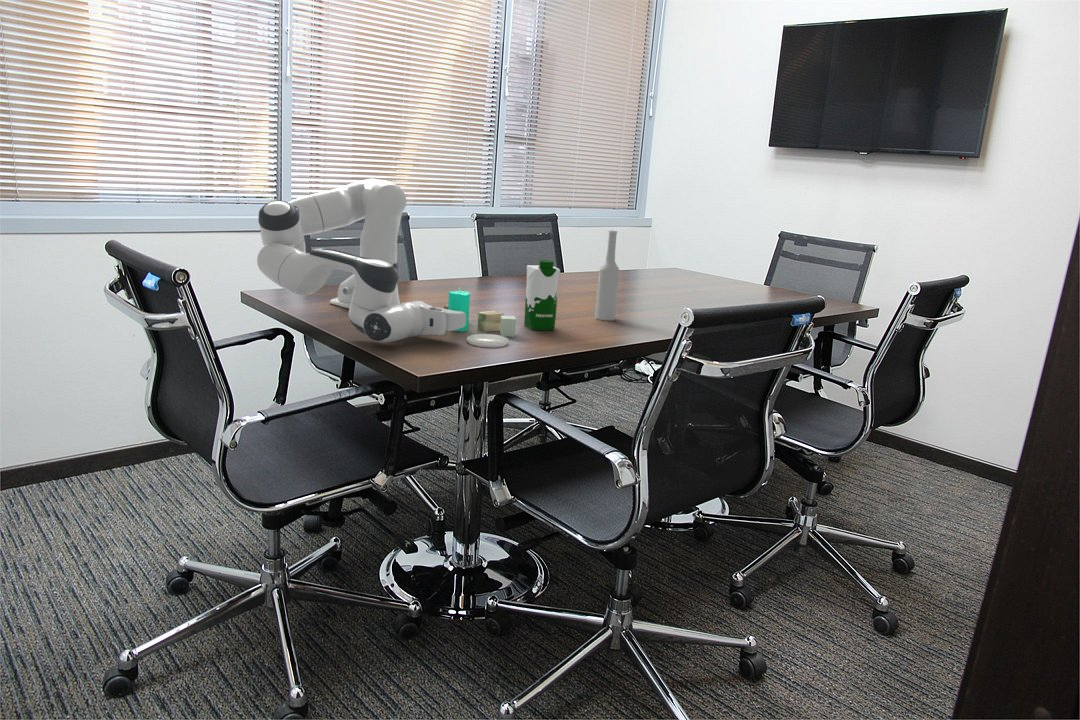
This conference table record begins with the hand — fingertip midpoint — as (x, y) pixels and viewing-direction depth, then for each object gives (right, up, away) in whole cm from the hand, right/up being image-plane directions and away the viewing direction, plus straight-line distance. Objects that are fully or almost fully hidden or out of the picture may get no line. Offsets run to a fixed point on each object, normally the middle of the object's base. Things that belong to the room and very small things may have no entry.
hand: (446, 311), depth 209 cm
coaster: (+12, -9, -6) cm, 16 cm away
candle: (+2, -5, +7) cm, 9 cm away
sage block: (+17, -6, +4) cm, 18 cm away
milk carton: (+25, -4, +16) cm, 31 cm away
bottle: (+47, 0, +36) cm, 59 cm away
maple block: (+11, -5, +9) cm, 15 cm away
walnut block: (0, -2, +16) cm, 16 cm away
